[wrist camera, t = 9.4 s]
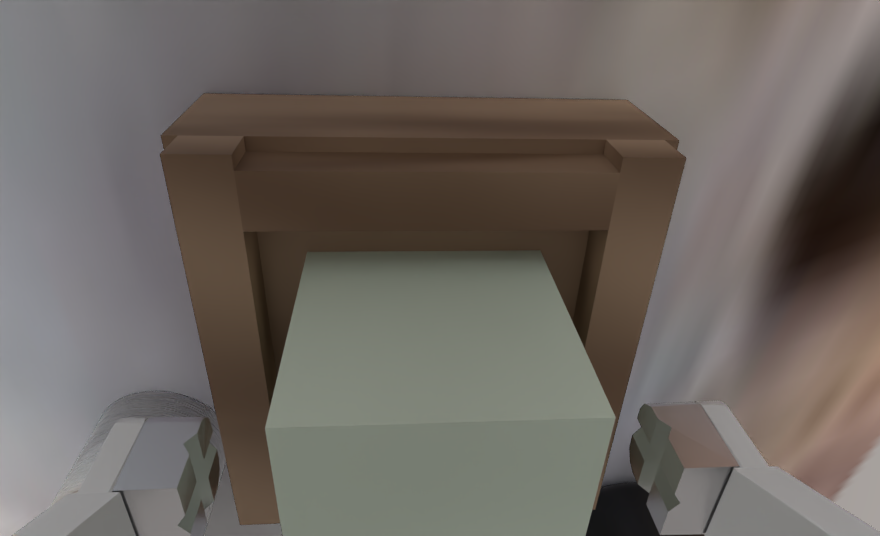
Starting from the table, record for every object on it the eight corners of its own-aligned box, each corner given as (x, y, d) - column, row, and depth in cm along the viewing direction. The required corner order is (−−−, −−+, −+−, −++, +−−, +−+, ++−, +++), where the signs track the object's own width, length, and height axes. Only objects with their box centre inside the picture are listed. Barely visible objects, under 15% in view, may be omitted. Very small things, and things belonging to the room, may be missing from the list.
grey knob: (83, 392, 18) (-13, 543, 14) (220, 389, 18) (168, 536, 14) (116, 482, 20) (41, 638, 16) (238, 477, 20) (198, 629, 16)
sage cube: (307, 251, 12) (264, 428, 8) (540, 250, 13) (615, 417, 9) (322, 423, 15) (296, 626, 11) (517, 417, 15) (566, 610, 11)
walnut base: (203, 93, 14) (141, 154, 10) (627, 99, 14) (701, 157, 11) (257, 413, 19) (228, 525, 15) (567, 404, 20) (606, 509, 16)
